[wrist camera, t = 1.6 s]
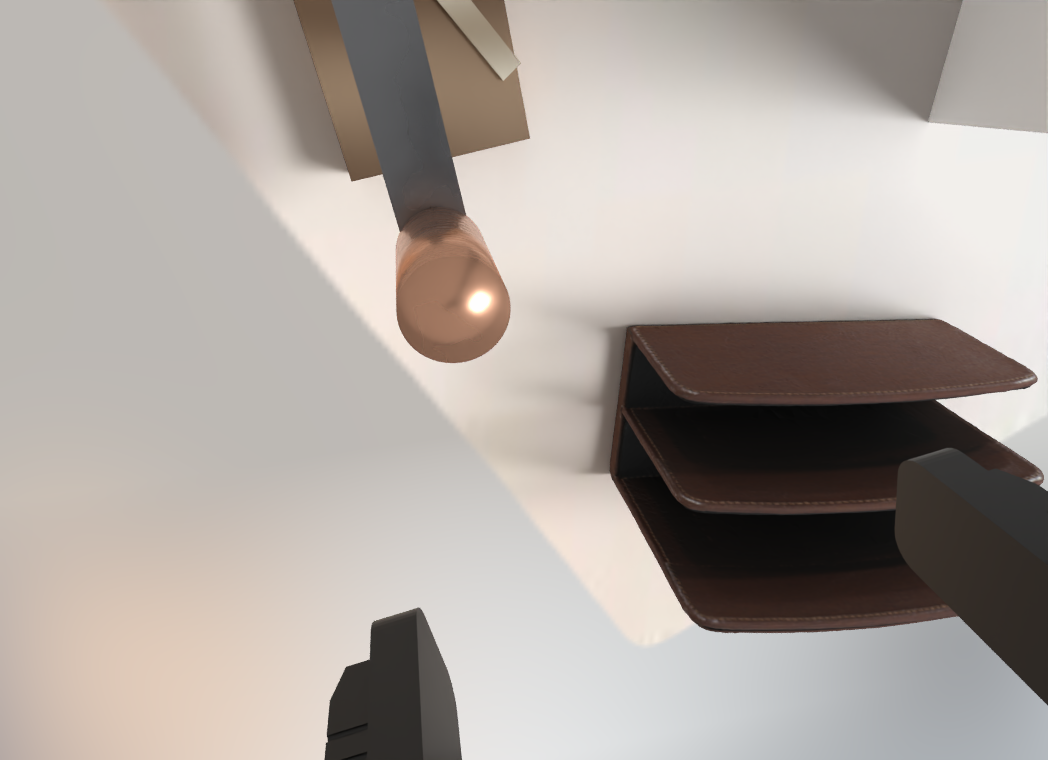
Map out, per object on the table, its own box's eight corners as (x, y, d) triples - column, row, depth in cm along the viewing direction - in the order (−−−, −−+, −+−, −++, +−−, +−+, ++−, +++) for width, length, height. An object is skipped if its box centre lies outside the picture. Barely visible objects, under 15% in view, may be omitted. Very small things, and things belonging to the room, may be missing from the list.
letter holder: (891, 455, 45) (1082, 614, 32) (606, 473, 41) (697, 659, 29) (940, 315, 40) (1182, 438, 28) (624, 322, 37) (741, 466, 24)
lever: (224, -269, 18) (127, -445, 12) (368, -298, 18) (354, -487, 12) (399, 292, 26) (401, 378, 19) (498, 267, 26) (533, 343, 20)
